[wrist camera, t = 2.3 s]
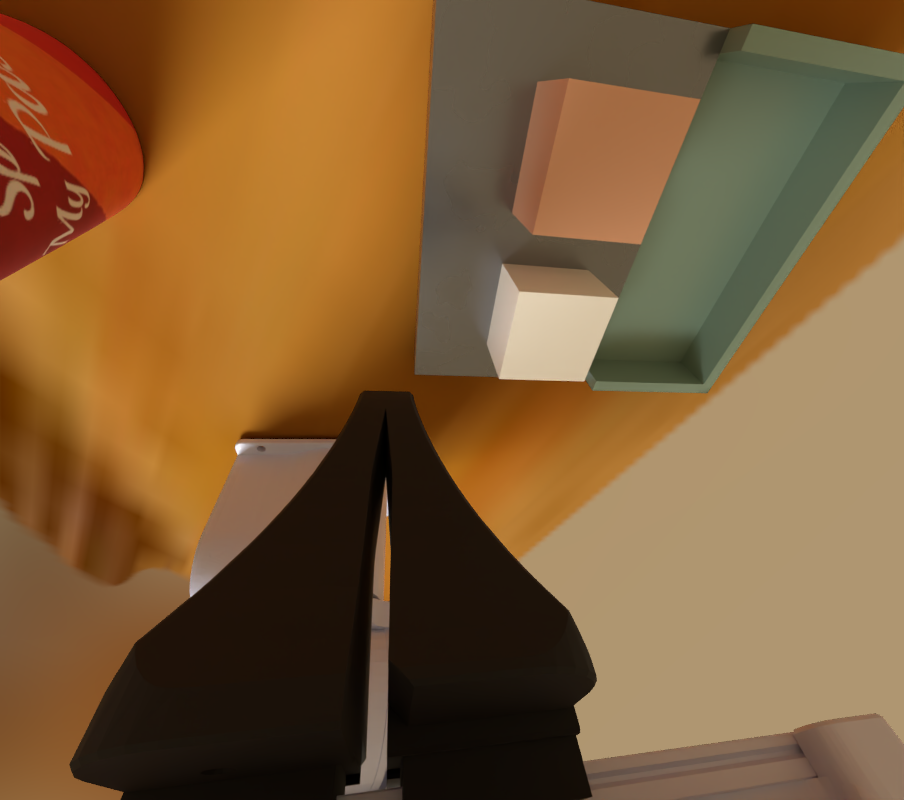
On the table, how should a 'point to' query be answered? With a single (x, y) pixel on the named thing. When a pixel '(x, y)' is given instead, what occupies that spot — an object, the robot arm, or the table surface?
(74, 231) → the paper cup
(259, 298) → the table surface
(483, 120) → the plate
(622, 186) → the terracotta block
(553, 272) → the tile cream
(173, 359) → the table surface
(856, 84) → the box
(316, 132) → the table surface
